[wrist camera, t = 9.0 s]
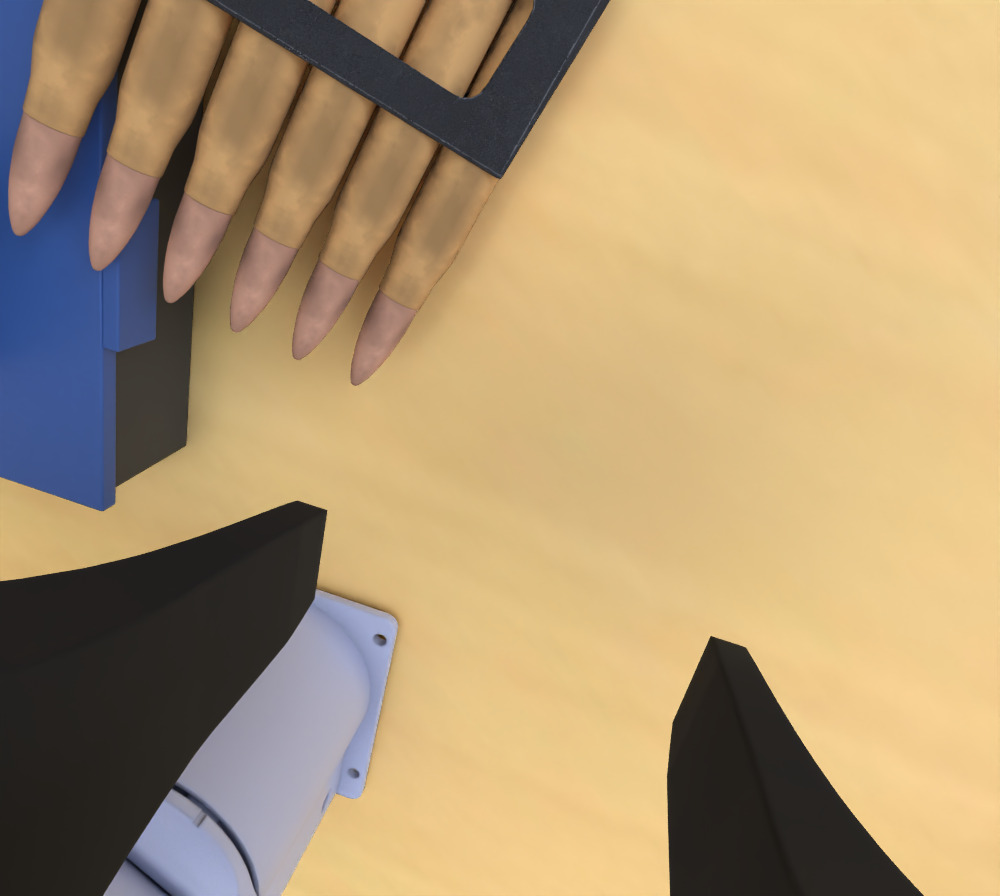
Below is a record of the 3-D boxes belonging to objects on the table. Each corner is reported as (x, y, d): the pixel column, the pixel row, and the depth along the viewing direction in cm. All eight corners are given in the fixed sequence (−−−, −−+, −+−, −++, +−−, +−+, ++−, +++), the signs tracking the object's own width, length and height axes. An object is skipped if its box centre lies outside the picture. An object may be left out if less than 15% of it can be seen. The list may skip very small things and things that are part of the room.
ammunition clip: (622, -20, 17) (385, 411, 20) (598, -13, 18) (382, 385, 22) (137, -407, 12) (-45, 222, 16) (161, -354, 14) (-10, 208, 18)
